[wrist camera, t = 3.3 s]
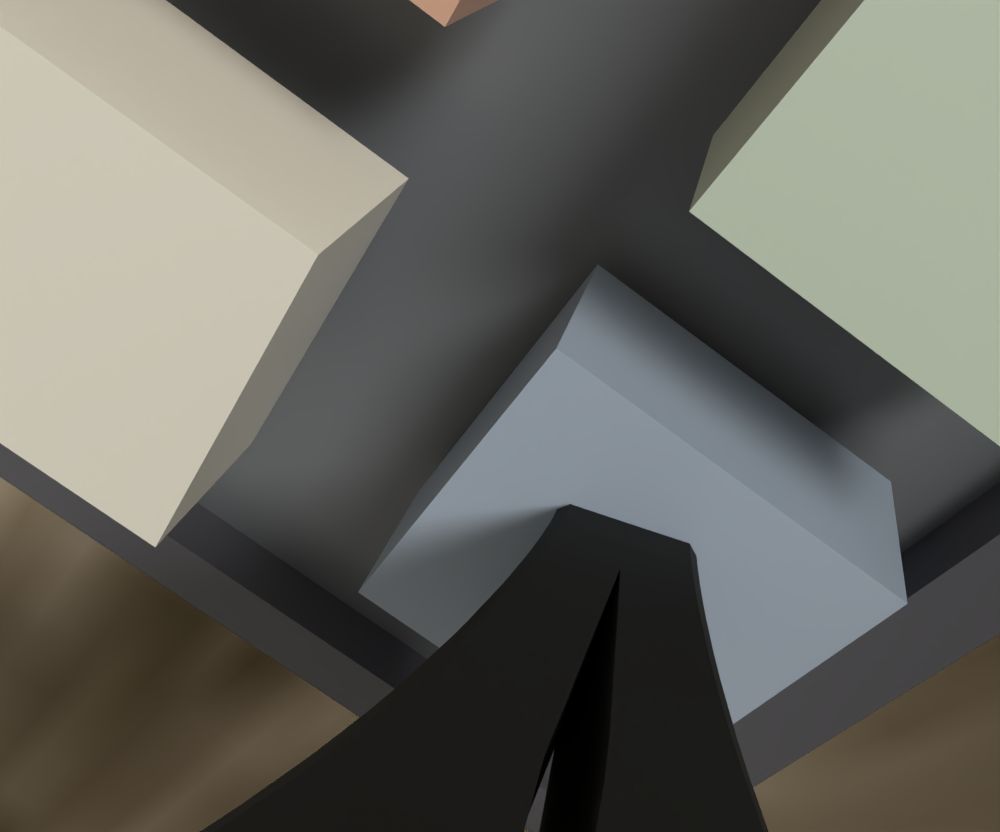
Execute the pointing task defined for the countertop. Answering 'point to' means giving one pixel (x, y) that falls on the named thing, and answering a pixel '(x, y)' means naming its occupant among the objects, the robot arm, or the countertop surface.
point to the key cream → (160, 248)
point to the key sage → (879, 185)
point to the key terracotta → (451, 9)
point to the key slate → (657, 493)
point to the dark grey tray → (540, 331)
